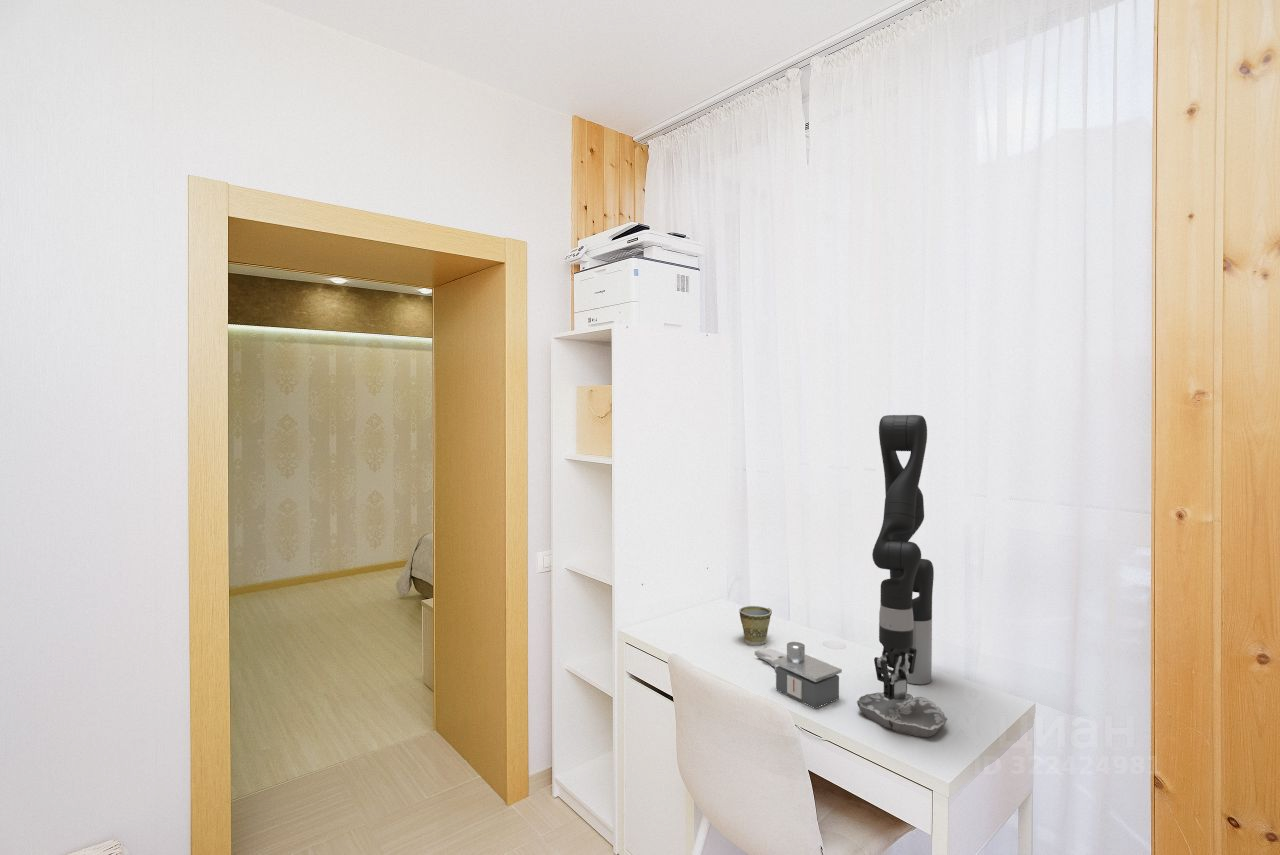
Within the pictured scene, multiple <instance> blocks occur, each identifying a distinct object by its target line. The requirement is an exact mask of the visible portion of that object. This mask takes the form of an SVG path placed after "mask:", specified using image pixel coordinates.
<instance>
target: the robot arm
mask: <svg viewBox="0 0 1280 855" xmlns="http://www.w3.org/2000/svg"><path fill="white" fill-rule="evenodd" d="M878 436H879V437H878V438H879V446H880V451H881V452H880V454H881V460H882V464H883V466H882V467H883V471H884V474H883V475H884V488H885V499H884V509H883V518H882V519H883V520H882V524H881V529H880V531H879V534H878V537H877V539H876V541H875V544H874V547H873V549H872V554H871V555H872V561H873V563H874V565H875V566H876V568H878V569H881V570H889V578H887V579H883V580H882V581H881V583H880V604H879V612H878V613H879V614H878V615H879V616H878V618H879V620H878V621H879V622H878V642H879V643H880V644H881V645H882V647H883V648H882V651H881V652H882V653H881V656H880V657H877V656H876V657H874V658H873V660H874V661H873V662H874V667H875V673H876V679H877V681H879V682H882V683H883V692H884V697H885V698H888V699H890V700H892V699H894V680H895V675H897V676H901V677H903V678H905V679H906V693H907V694H908V684H913V685H927V684H930V683H932V675H933V674H932V673H933V672H932V669H933V668H932V667H933V664H932V663H933V662H932V660H933V656H932V655H933V654H932V653H933V648H932V647H933V590H934V578H935V577H934V576H935V575H934V571H935V570H934V565H933V563H932V561H931V560H930V559H925V558H922V551H921V548H920V547H919V545H918V544H917V543H915V542H914V541H910V540H911V538H913V536H914V535H915V534H916V532H917V531H918V530H919V529H920V527H921V525H922V524H923V521H924V520H925V506H924V502H925V501H924V495H923V492H922V490H921V489H920V487H919V484H920V480H921V475H922V470H923V465H924V459H925V453H926V448H927V441H928V426H927V421H926V419H925V417H924V416H923V415H920V414H891V415H883V416H882V417H881V418H880V421H879V424H878ZM897 452H910V454H909V459H908V461H907V462H906V465H905V466H904V467H903V465H902V464H901V462H900V459H899V456H898V454H897ZM913 593H918V596H917V597H915V598H913ZM889 675H890V678H889Z"/></svg>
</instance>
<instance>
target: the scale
mask: <svg viewBox="0 0 1280 855" xmlns="http://www.w3.org/2000/svg"><path fill="white" fill-rule="evenodd" d="M775 687H776V688H775V690H776V689H777V690H776V691H778V690H779V691H778V692H780V691H781V692H780V693H782V692H783V693H782V694H784V693H785V694H784V695H786V694H787V695H786V696H788V695H789V696H788V697H790V696H791V698H792V697H793V698H792V699H794V698H795V699H794V700H796V699H797V700H796V701H798V700H799V701H798V702H800V701H801V702H800V703H802V702H803V704H804V703H806V704H805V705H807V704H808V705H807V706H809V705H810V706H809V707H811V706H812V707H811V708H813V707H814V708H813V709H815V708H816V707H818V708H820V707H822V706H821V705H823V706H824V704H825V705H827V704H826V703H828V704H830V703H832V702H834V700H835V701H837V700H839V699H840V675H839V674H836V675H834V676H831V677H828V678H826V679H823V680H820V681H818V682H814V681H812V680H810V679H807V678H805V677H803V676H801V675H798V674H796V673H794V672H792V671H789V670H787V669H785V668H783V667H781V666H778V667H776V671H775ZM836 699H837V700H836ZM831 701H832V702H831ZM829 702H830V703H829ZM819 706H820V707H819ZM816 709H817V708H816Z"/></svg>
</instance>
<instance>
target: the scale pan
mask: <svg viewBox="0 0 1280 855" xmlns="http://www.w3.org/2000/svg"><path fill="white" fill-rule="evenodd" d="M774 664H776V665H778V666H781V667H783V668H785V669H787V670H789V671H792V672H794V673H796V674H798V675H801V676H803V677H805V678H807V679H810V680H812V681H814V682H818V681H820V680H823V679H826V678H828V677H831V676H834V675H839V674H842V672H843V671H842V668H839V667H838V666H834V665H831V664H830V663H827V662H825V661H823V660H821V659H818V658H816V657H812V656H810V655H808V654H805V661H804V662H803V663H791V662H789V661H788V660H787V656H785V657H782V658H779V659H776V660H774Z"/></svg>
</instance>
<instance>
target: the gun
mask: <svg viewBox="0 0 1280 855" xmlns="http://www.w3.org/2000/svg"><path fill="white" fill-rule="evenodd" d="M754 656H756V657H757V658H759V659H761V660H764V661H765V662H768V664H770V665H771V666H772V667H773V668H774V671H775V672H776V667H778V665H776V664H774V660H776V659H779V658H782V657H785V656H787V653H786V654H785V653H782V652H780V651H777V650H776V649H773V648H771V647H768V646H765V647H764V648H762V649H757V650H755V651H754Z"/></svg>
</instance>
